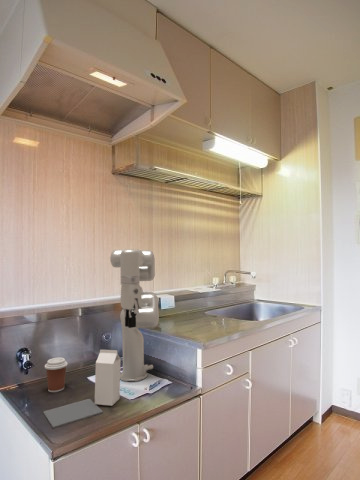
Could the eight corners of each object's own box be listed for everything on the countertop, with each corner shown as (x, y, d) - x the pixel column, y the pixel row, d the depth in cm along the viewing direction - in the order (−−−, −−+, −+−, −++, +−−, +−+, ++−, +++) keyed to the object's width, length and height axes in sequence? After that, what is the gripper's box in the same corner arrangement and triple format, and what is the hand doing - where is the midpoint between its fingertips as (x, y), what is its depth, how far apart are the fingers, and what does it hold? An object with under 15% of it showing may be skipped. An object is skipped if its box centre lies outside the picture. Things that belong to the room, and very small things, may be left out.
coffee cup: (47, 395, 131) (47, 365, 131) (42, 388, 138) (42, 359, 138) (70, 389, 136) (70, 360, 136) (64, 382, 143) (64, 355, 144)
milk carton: (112, 406, 120) (113, 352, 122) (94, 404, 121) (95, 351, 123) (119, 399, 127) (120, 348, 129) (102, 397, 128) (103, 347, 130)
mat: (89, 399, 126) (89, 398, 126) (102, 412, 116) (102, 411, 116) (43, 412, 116) (43, 411, 116) (53, 428, 106) (53, 426, 106)
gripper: (148, 281, 127) (148, 329, 126) (129, 278, 140) (129, 322, 139) (130, 282, 123) (131, 332, 122) (113, 280, 136) (113, 324, 135)
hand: (130, 326), depth 131 cm, fingers closed
